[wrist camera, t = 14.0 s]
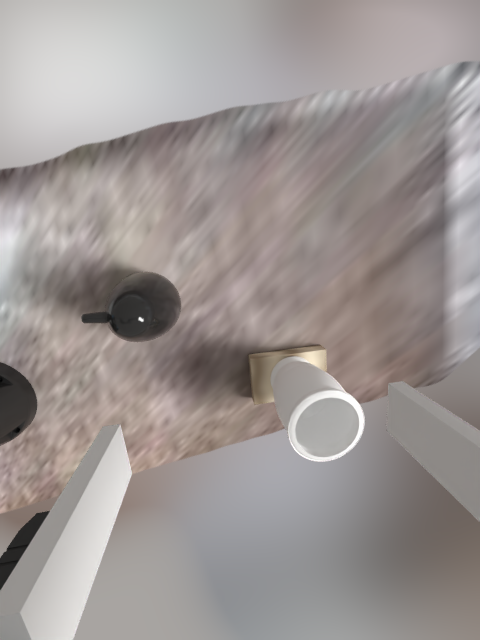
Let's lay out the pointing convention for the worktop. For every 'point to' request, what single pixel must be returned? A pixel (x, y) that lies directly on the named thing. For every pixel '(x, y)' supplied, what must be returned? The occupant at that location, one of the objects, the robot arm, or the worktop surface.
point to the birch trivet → (266, 362)
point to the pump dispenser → (140, 307)
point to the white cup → (315, 410)
